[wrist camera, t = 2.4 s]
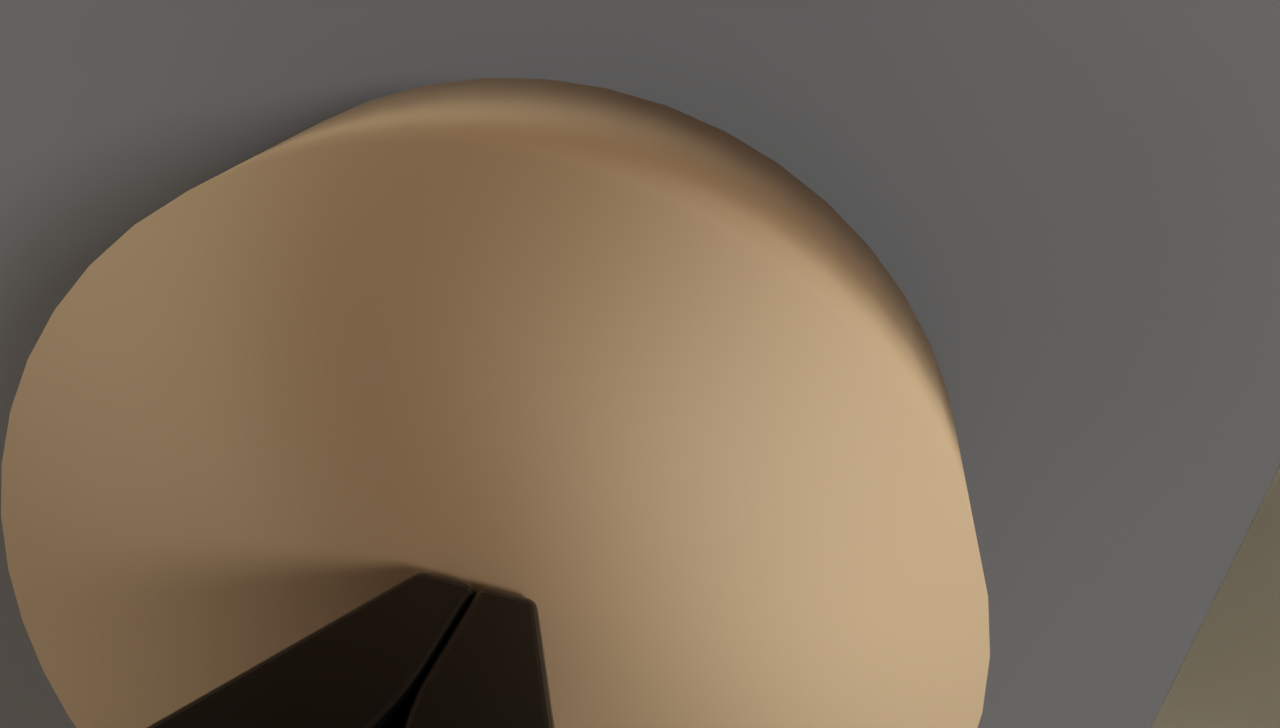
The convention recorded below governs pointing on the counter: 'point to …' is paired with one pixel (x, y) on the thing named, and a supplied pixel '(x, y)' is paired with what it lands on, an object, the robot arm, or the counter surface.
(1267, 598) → the counter surface
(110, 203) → the gray rectangular block
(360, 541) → the tan rounded lump
